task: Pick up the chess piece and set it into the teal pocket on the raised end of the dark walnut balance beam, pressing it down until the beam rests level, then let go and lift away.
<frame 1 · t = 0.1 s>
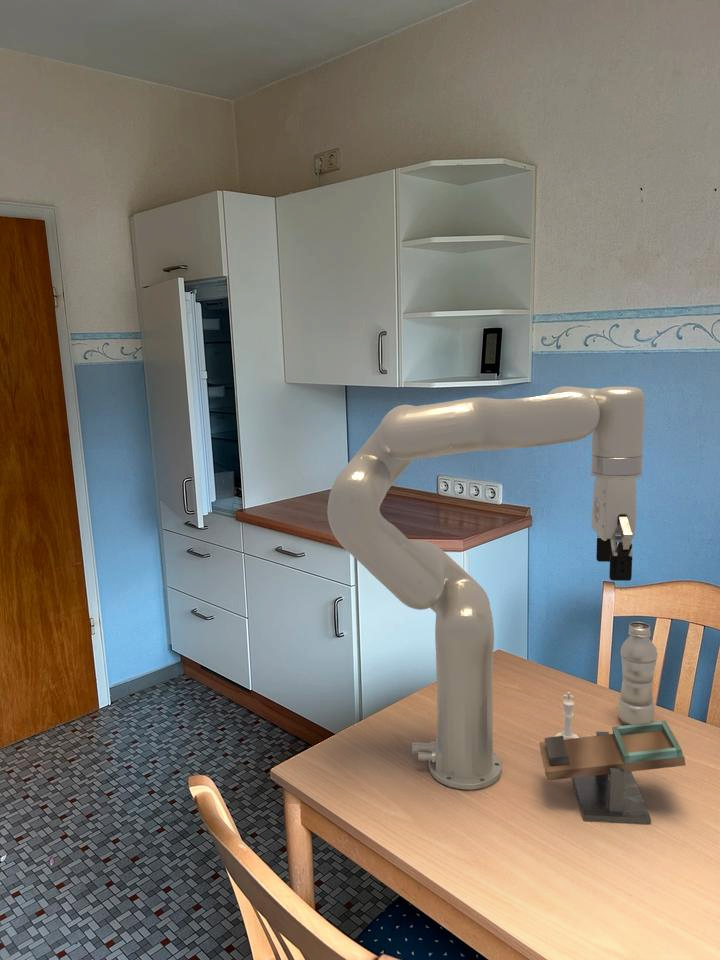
hand: (613, 570, 116), 37 cm above the table, tool pointing down, fingers open, 9 cm apart
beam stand: (608, 796, 117), on the table
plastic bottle: (635, 723, 139), on the table
chess piece: (567, 743, 134), on the table
balance beam: (608, 751, 116), point 8 cm above the table, hinge at -10.0°
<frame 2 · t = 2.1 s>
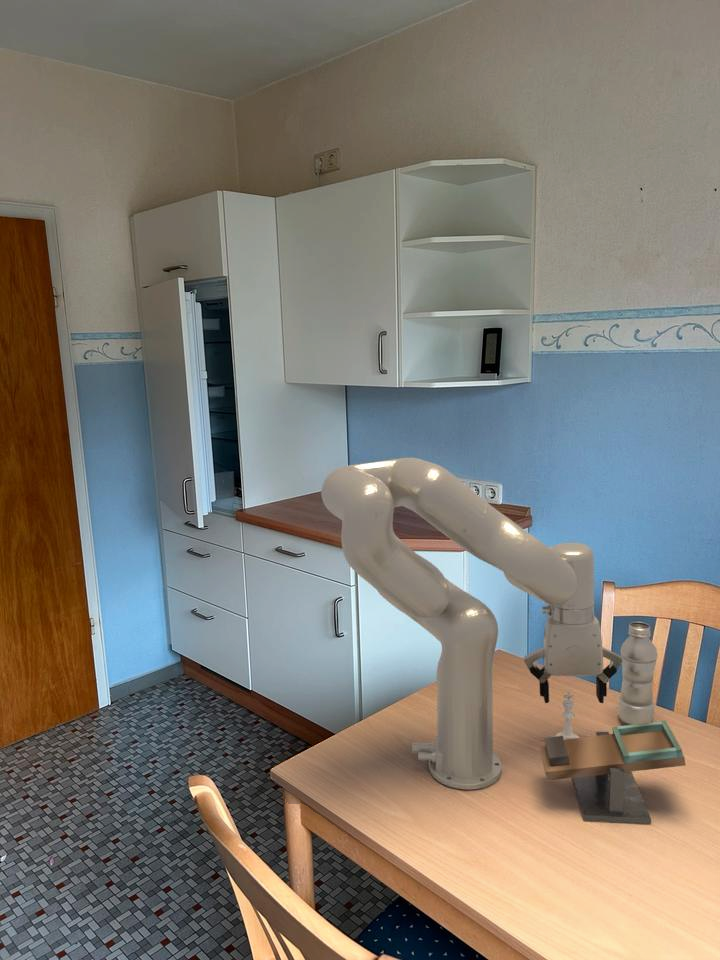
hand: (572, 699, 132), 8 cm above the table, tool pointing down, fingers open, 9 cm apart
nothing on the table moved.
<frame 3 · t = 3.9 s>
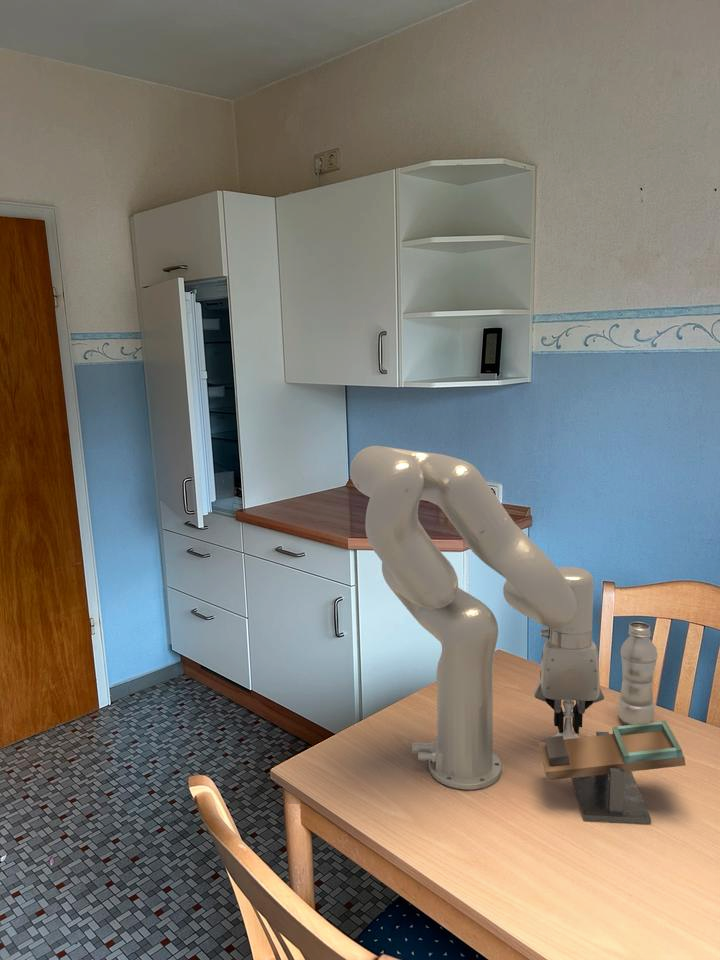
hand: (567, 729, 133), 3 cm above the table, tool pointing down, fingers closed on chess piece
chess piece: (567, 743, 134), on the table, touching gripper
everything else where it was.
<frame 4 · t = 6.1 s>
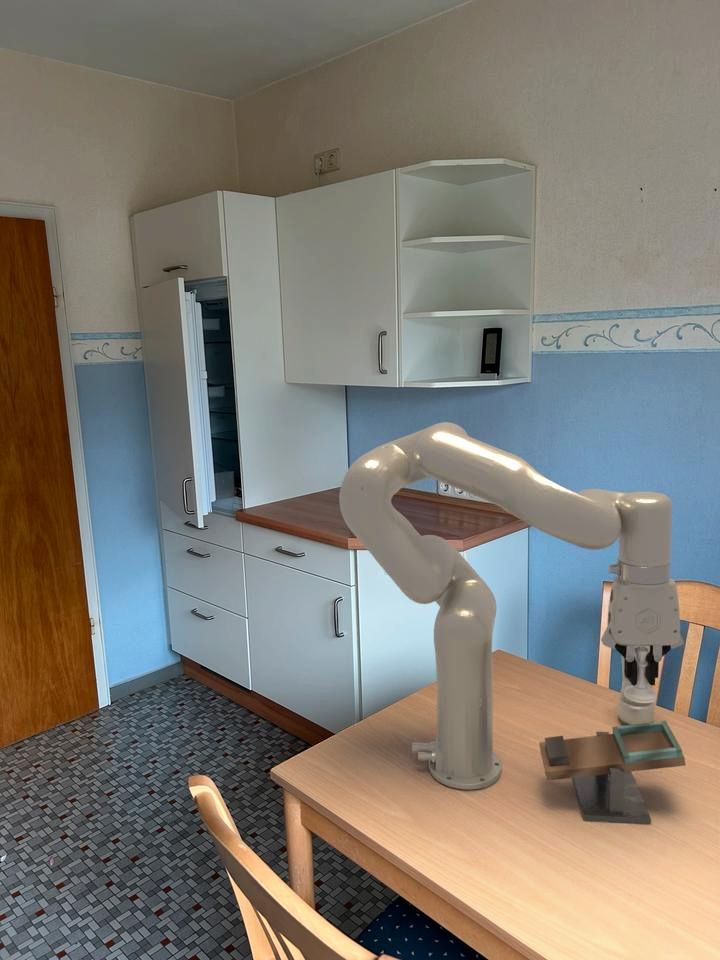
hand: (640, 680, 115), 19 cm above the table, tool pointing down, fingers closed on chess piece
chess piece: (640, 697, 116), point 17 cm above the table, touching gripper
everything else where it was.
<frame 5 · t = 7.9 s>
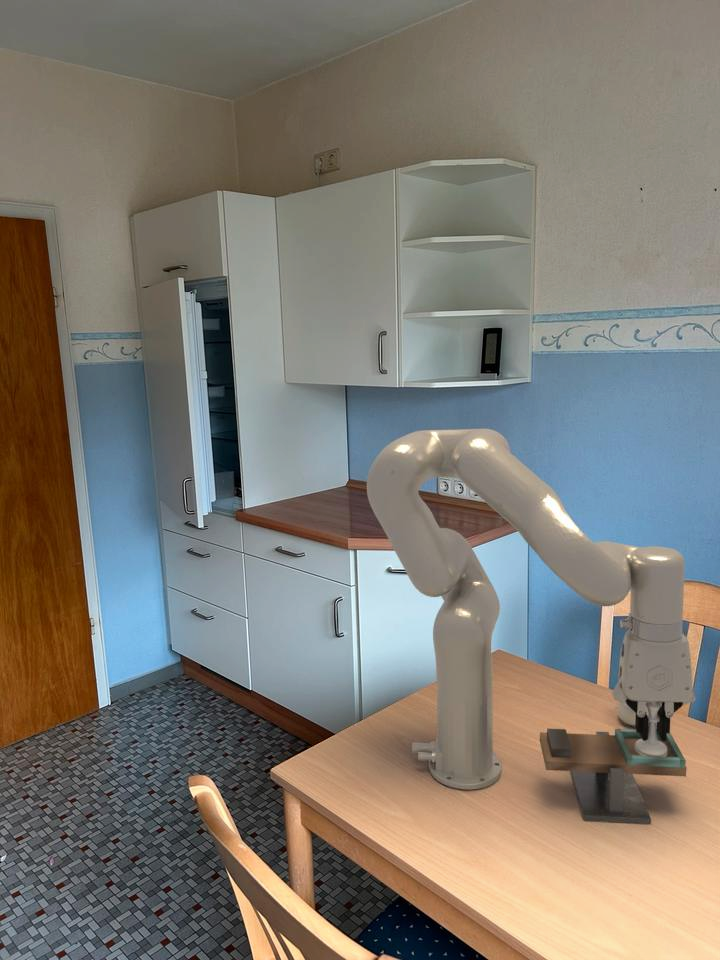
hand: (652, 735, 114), 11 cm above the table, tool pointing down, fingers closed on chess piece
chess piece: (651, 751, 115), point 8 cm above the table, touching balance beam, gripper
balance beam: (609, 751, 116), point 8 cm above the table, hinge at 0.2°, touching chess piece
everything else where it was.
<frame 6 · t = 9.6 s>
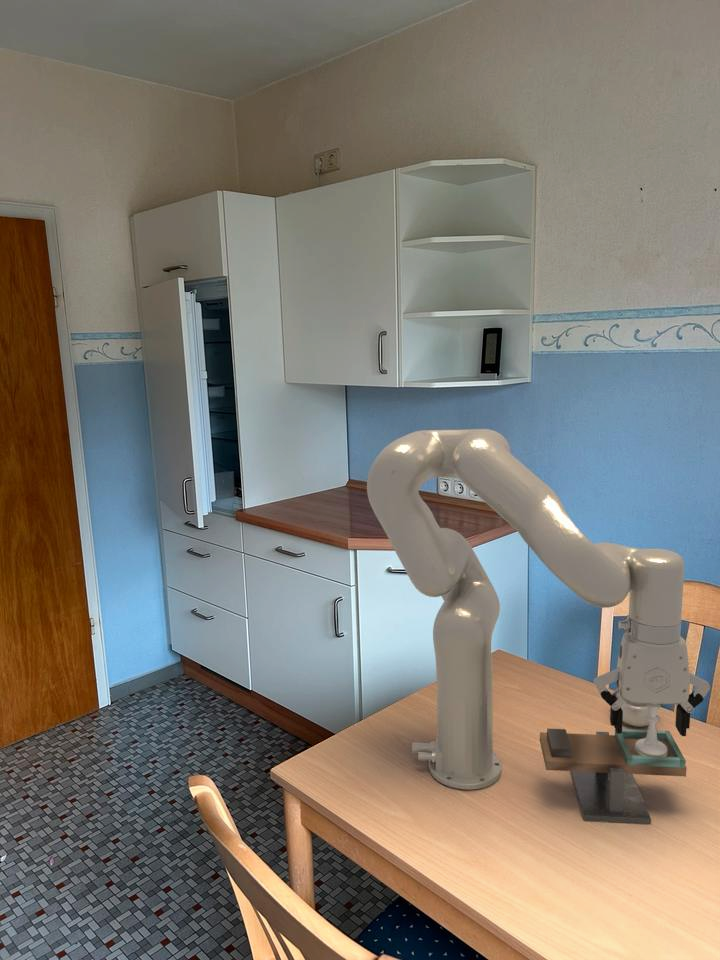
hand: (648, 730, 114), 12 cm above the table, tool pointing down, fingers open, 9 cm apart
chess piece: (651, 751, 115), point 8 cm above the table, touching balance beam
everything else where it was.
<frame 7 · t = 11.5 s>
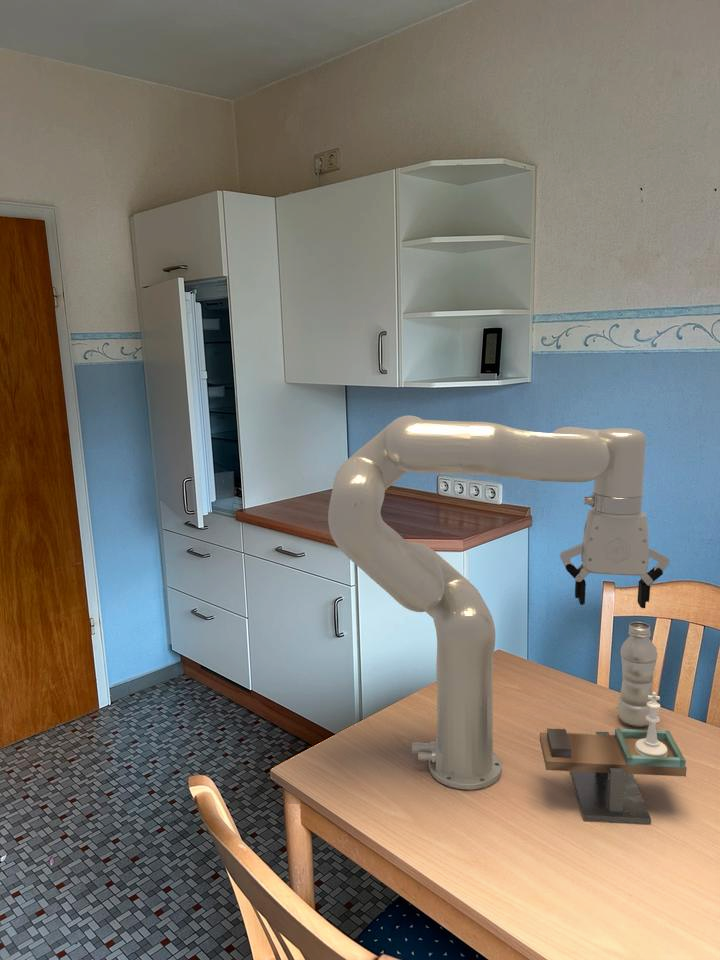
hand: (611, 603, 121), 30 cm above the table, tool pointing down, fingers open, 9 cm apart
nothing on the table moved.
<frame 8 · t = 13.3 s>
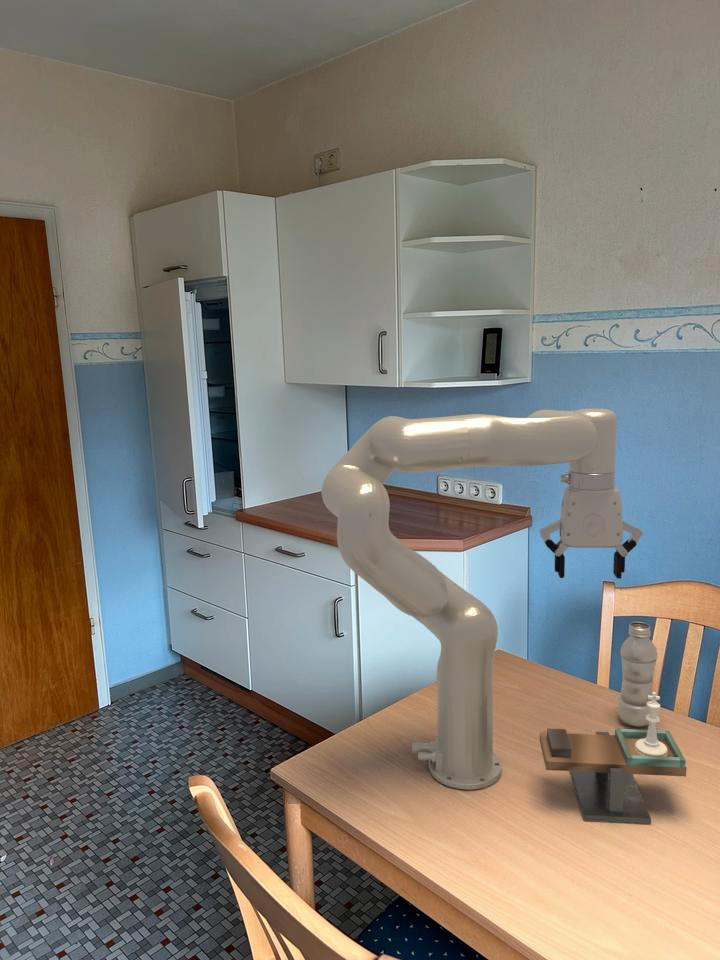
hand: (588, 575, 127), 32 cm above the table, tool pointing down, fingers open, 9 cm apart
nothing on the table moved.
at the end: balance beam at +0° (first picture: -10°); chess piece 0.4 cm from the target spot on the balance beam, point 1.3 cm above the balance beam's base; chess piece tilted 0° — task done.
